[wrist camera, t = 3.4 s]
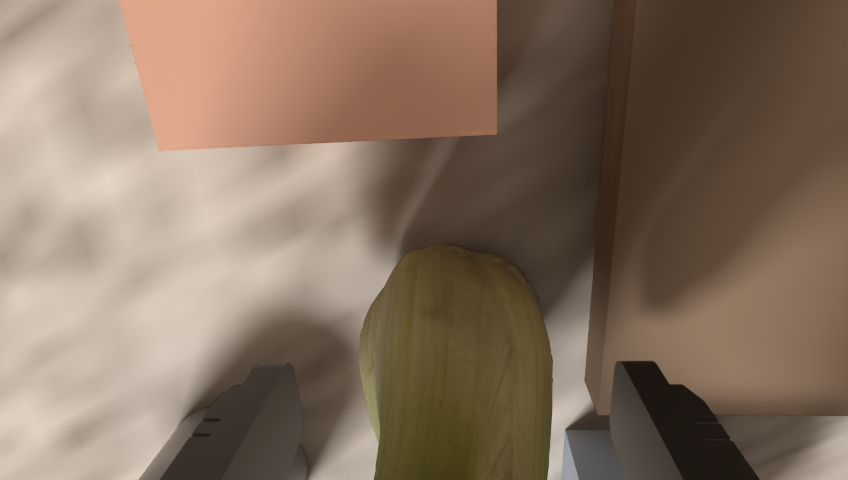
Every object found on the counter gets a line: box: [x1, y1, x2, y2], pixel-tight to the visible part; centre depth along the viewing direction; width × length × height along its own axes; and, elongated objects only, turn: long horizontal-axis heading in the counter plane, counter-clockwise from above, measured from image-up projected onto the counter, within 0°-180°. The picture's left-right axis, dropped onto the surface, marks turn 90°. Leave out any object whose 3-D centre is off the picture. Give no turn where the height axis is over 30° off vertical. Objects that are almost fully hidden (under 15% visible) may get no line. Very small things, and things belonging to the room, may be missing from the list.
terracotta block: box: [119, 0, 497, 151], centre depth 10 cm, size 6×4×4 cm, turn 93°
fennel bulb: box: [359, 244, 553, 480], centre depth 9 cm, size 6×5×12 cm
